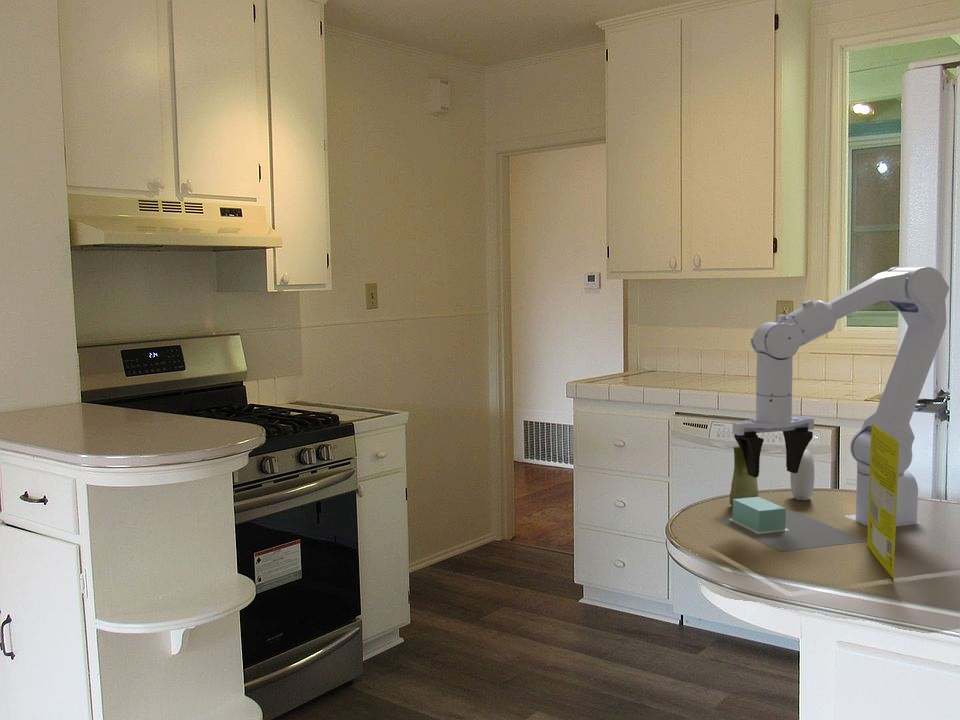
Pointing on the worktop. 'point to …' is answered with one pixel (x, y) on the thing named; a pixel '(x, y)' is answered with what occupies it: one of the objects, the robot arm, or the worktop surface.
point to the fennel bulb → (742, 479)
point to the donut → (803, 478)
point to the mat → (797, 533)
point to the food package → (883, 497)
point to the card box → (759, 514)
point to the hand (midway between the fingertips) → (772, 474)
